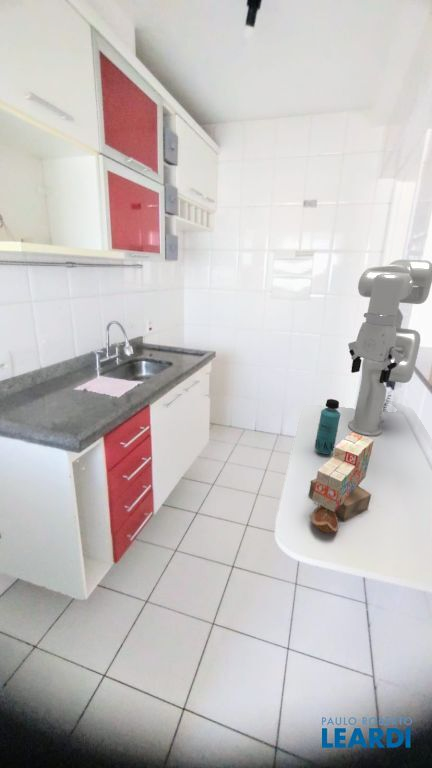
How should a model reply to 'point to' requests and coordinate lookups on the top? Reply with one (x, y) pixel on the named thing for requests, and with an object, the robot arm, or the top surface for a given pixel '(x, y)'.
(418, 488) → the top surface
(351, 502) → the walnut base brick
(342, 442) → the stack of blocks
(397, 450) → the top surface
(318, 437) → the beverage bottle
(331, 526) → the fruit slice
